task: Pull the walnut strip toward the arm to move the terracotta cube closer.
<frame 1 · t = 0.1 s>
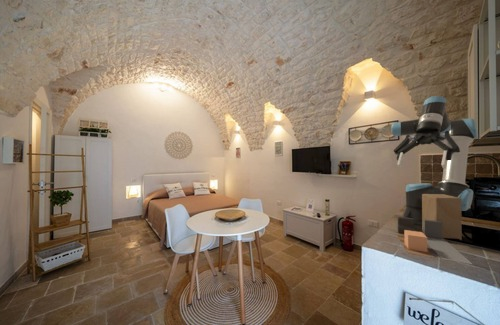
hand: (419, 166, 75), 36 cm above the counter, tool tilted 35°, fingers open, 13 cm apart
walnut strip: (411, 235, 83), point 5 cm above the counter, slide at 0.0 cm, touching terracotta cube
terracotta cube: (415, 247, 78), point 1 cm above the counter, touching walnut strip
wooden block: (440, 236, 91), on the counter
grey piece: (442, 239, 78), point 4 cm above the counter, slide at 0.0 cm
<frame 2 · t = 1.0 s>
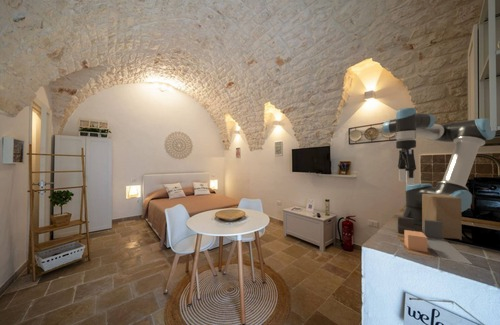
hand: (406, 183, 91), 27 cm above the counter, tool pointing down, fingers open, 13 cm apart
nothing on the counter moved.
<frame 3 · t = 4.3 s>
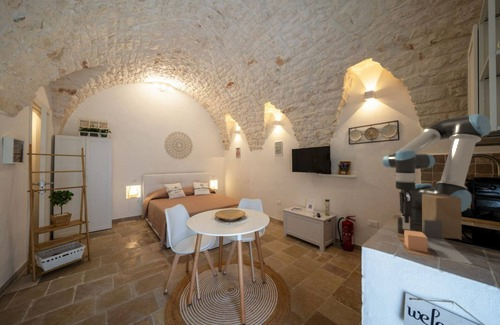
hand: (405, 227, 92), 4 cm above the counter, tool pointing down, fingers closed on walnut strip, 2 cm apart
walnut strip: (411, 235, 83), point 4 cm above the counter, slide at 0.0 cm, touching gripper, terracotta cube
wooden block: (440, 236, 91), on the counter, touching arm
everything else where it was.
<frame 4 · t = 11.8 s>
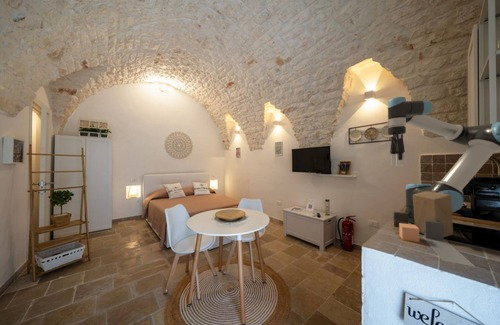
hand: (396, 165, 100), 35 cm above the counter, tool pointing down, fingers open, 13 cm apart
walnut strip: (406, 227, 91), point 5 cm above the counter, slide at 9.9 cm, touching terracotta cube
terracotta cube: (408, 238, 87), point 1 cm above the counter, touching walnut strip
wooden block: (433, 233, 93), point 1 cm above the counter, touching arm, grey piece
grey piece: (444, 240, 77), point 5 cm above the counter, slide at -1.5 cm, touching wooden block
at the end: walnut strip slide at 9.9 cm; terracotta cube inside the target area (0.1 cm from its centre), point 1.0 cm above the counter; grey piece slide at -1.5 cm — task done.
